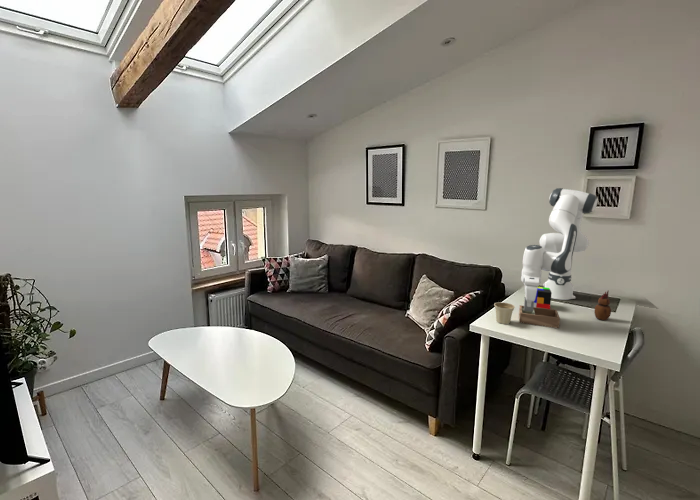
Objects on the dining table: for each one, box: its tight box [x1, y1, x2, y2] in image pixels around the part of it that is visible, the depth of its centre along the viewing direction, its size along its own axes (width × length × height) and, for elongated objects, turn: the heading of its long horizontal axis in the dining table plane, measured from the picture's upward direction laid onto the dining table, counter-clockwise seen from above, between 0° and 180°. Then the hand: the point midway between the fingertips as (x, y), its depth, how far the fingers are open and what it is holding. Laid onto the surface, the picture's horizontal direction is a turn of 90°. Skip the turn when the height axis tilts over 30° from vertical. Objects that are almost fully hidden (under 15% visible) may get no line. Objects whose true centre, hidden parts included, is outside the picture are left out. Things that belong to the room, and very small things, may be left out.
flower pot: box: [493, 301, 516, 325], centre depth 178 cm, size 9×9×9 cm
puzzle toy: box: [534, 286, 552, 309], centre depth 202 cm, size 10×10×10 cm
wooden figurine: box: [593, 290, 612, 321], centre depth 182 cm, size 7×6×15 cm
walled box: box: [518, 304, 561, 329], centre depth 180 cm, size 13×17×5 cm
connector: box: [523, 296, 534, 312], centre depth 181 cm, size 4×4×7 cm
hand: (528, 304), depth 181 cm, fingers closed on connector, 4 cm apart
